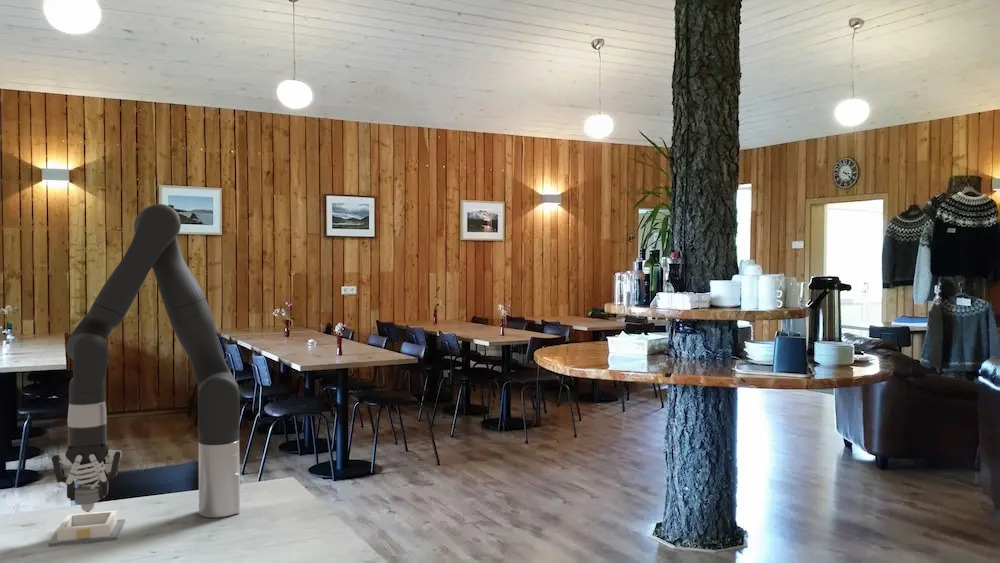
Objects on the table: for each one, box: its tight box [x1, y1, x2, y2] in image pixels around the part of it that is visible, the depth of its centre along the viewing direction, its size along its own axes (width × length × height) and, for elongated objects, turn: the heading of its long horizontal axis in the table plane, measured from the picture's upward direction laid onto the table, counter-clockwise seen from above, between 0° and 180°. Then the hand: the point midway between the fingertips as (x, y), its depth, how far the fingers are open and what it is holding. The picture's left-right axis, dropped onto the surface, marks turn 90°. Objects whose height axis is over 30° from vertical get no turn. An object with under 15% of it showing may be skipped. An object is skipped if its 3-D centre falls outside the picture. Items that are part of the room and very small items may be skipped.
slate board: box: [47, 518, 126, 547], centre depth 170 cm, size 13×12×1 cm
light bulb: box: [74, 463, 101, 513], centre depth 170 cm, size 6×6×12 cm
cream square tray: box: [56, 510, 118, 541], centre depth 170 cm, size 10×10×2 cm
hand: (87, 498), depth 170 cm, fingers closed on light bulb, 5 cm apart
